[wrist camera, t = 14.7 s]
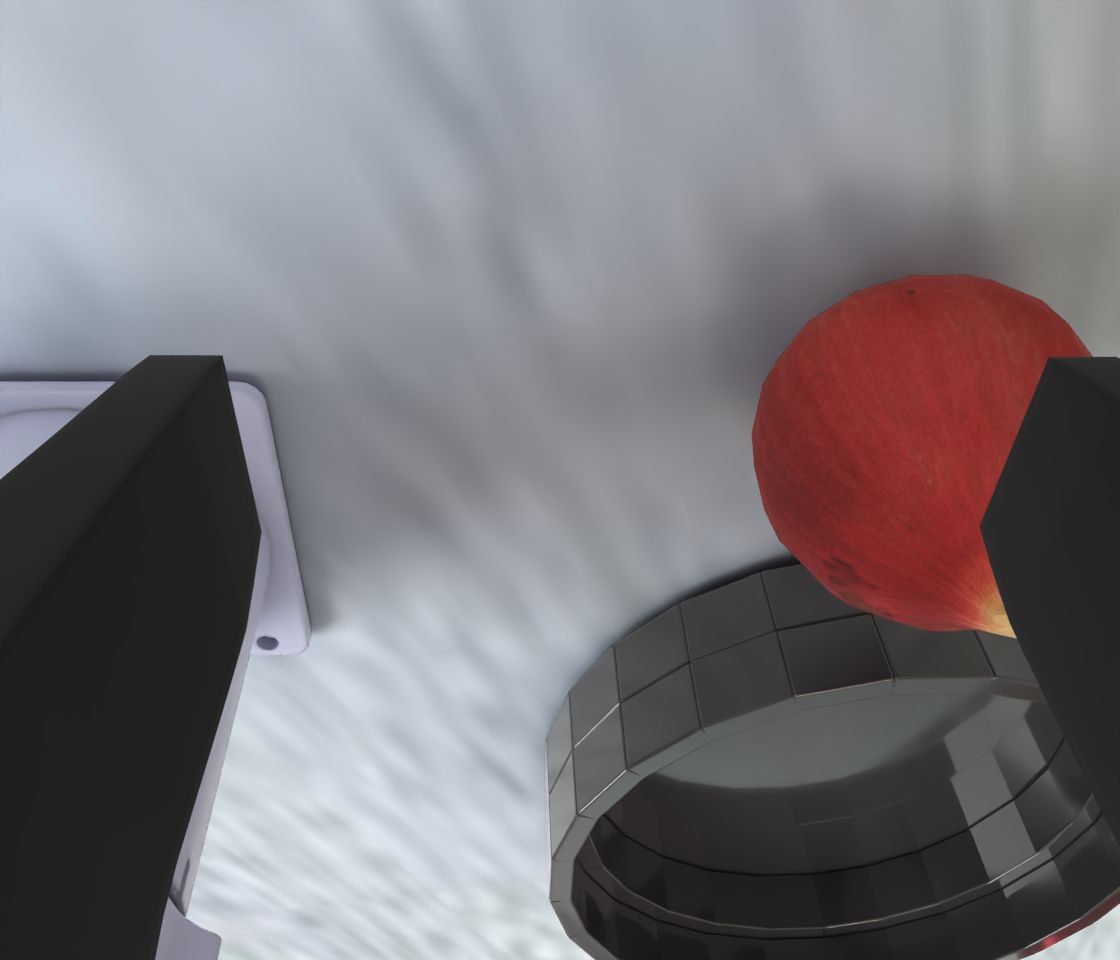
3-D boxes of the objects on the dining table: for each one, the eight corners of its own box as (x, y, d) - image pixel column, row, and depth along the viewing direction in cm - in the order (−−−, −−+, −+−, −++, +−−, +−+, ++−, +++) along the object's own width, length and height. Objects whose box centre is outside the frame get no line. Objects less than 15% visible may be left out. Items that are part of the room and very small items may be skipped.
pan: (540, 889, 34) (543, 1013, 31) (551, 547, 24) (559, 683, 21) (1006, 877, 35) (1053, 997, 32) (1217, 541, 25) (1317, 671, 22)
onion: (965, 444, 22) (1139, 755, 16) (706, 447, 22) (784, 764, 16) (1055, 195, 18) (1326, 479, 12) (743, 194, 18) (863, 484, 12)
